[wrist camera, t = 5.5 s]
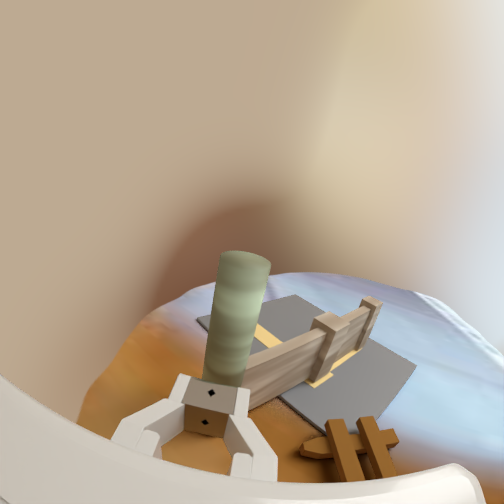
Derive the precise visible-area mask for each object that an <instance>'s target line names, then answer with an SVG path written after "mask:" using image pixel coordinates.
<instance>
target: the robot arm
mask: <svg viewBox="0 0 504 504" xmlns="http://www.w3.org/2000/svg"><path fill="white" fill-rule="evenodd" d="M249 398H250V389H245V388H240V387H234V386H229V385H224V384H220V383H214V382H210V381H206V380H203V379H199V378H195V377H191V376H188V375H184V374H181V373H180V374H179V375H178V377H177V380H176V382H175V384H174V386H173V389H172V391H171V393H170V395H169V398H168V399H166V398H164V399H162V400H160V401H158V402H156V403H154V404H152V405H150V406H148V407H146V408H144V409H142V410H140V411H138V412H136V413H134V414H132V415H130V416H128V417H126V418H124V419H122V420H121V422H120V424H119V426H118V428H117V429H116V431H115V433H114V435H113V437H112V438H111V440H108V439H106V438H104V437H102V436H100V435H97V434H95V433H93V432H91V431H89V430H87V429H85V428H83V427H81V426H79V425H77V424H75V423H74V422H72V421H70V420H68V419H66V418H65V417H63V416H61V415H59V414H57V413H56V412H54V411H53V410H51V409H49V408H48V407H46V406H45V405H43V404H41V403H40V402H38V401H37V400H35V399H34V398H32V397H31V396H29V395H28V394H26V393H25V392H24V391H22V390H21V389H19V388H18V387H17V386H15V385H14V384H13V383H11V382H10V381H9V380H7V379H6V378H5V377H4V376H3V375H1V374H0V504H486V502H485V499H484V496H483V492H482V489H481V486H480V484H479V482H478V480H477V478H476V477H475V476H474V475H473V474H472V473H471V472H469V471H468V470H466V469H465V468H463V467H462V466H460V465H458V464H456V463H452V464H448V465H444V466H441V467H437V468H433V469H429V470H425V471H421V472H416V473H412V474H407V475H401V476H396V477H390V478H383V479H375V480H367V481H356V482H342V483H289V482H277V464H278V457H277V456H276V454H275V453H274V452H273V450H272V449H271V447H270V446H269V445H268V443H267V442H266V440H265V439H264V437H263V436H262V435H261V433H260V432H259V430H258V429H257V427H256V426H255V424H254V423H253V421H252V420H251V418H247V415H248V406H249ZM183 429H184V430H188V431H193V432H197V433H202V434H206V435H210V436H214V437H218V438H222V439H223V440H224V443H225V445H226V447H227V449H228V451H229V453H230V455H231V457H232V461H231V464H230V467H229V470H228V472H227V475H222V474H216V473H212V472H207V471H202V470H198V469H194V468H190V467H186V466H182V465H178V464H175V463H171V462H168V461H165V460H162V452H161V446H163V445H164V444H165V443H167V442H168V441H170V440H171V439H172V438H174V437H175V436H176V435H178V434H179V433H180V432H182V431H183Z"/></svg>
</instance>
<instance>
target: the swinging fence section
mask: <svg viewBox="0 0 504 504" xmlns="http://www.w3.org/2000/svg"><path fill="white" fill-rule="evenodd" d="M270 267H271V263H270V262H269V261H268V260H267V259H265V258H263V257H261V256H259V255H256V254H252V253H248V252H243V251H226V252H223V253H222V254H221V255H220V260H219V267H218V273H217V279H216V285H215V291H214V298H213V304H212V311H211V317H210V324H209V331H208V338H207V345H206V352H205V359H204V367H203V374H202V379H203V380H206V381H210V382H214V383H220V384H224V385H229V386H234V387H240V388H245V389H250V398H249V406H248V411H249V410H251V409H253V408H255V407H257V406H259V405H261V404H263V403H265V402H267V401H269V400H271V399H272V398H274V397H276V396H278V395H280V394H282V393H283V392H285V391H287V390H289V389H291V388H292V387H294V386H296V385H297V384H299V383H301V382H303V381H304V380H306V379H308V378H309V379H310V380H311V381H313V382H314V383H315V382H316V381H318V380H319V379H321V378H322V377H324V376H325V375H327V374H328V373H329V372H330V370H331V368H332V366H333V363H334V361H335V359H336V357H337V355H338V352H339V350H340V348H341V345H342V343H343V341H344V338H345V336H346V334H347V331H348V329H349V326H350V323H349V322H347V321H345V320H343V319H342V318H340V317H338V316H337V315H335V314H333V313H331V312H330V311H329V312H327V313H324V314H322V315H319V316H317V317H314V319H313V322H312V325H311V328H310V331H309V332H307V333H304V334H302V335H300V336H297V337H295V338H293V339H290V340H288V341H286V342H283V343H281V344H278V345H276V346H273V347H271V348H268V349H266V350H263V351H261V352H258V353H255V354H253V355H250V356H249V354H250V350H251V346H252V342H253V338H254V334H255V330H256V326H257V322H258V318H259V313H260V309H261V305H262V301H263V297H264V293H265V289H266V284H267V280H268V276H269V271H270Z"/></svg>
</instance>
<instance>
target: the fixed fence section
mask: <svg viewBox="0 0 504 504" xmlns="http://www.w3.org/2000/svg"><path fill="white" fill-rule="evenodd" d="M382 304H383V302H381V301H379V300H377V299H375V298H373V297H371V296H367V297H365V298H363V299H362V301H361V303H360V306H359V308H358V309H356V310H354V311H352V312H350V313H348V314H346V315H344V316H342V317H340V318H342V319H343V320H345V321H347V322H349V323H350V326H349V329H348V331H347V334H346V336H345V338H344V341H343V343H342V345H341V348H340V350H339V352H338V355H337V357H336V359H335V361H334V363H335V362H336V361H338V360H339V359H341V358H342V357H344V356H345V355H347V354H348V353H350V352H351V351H352V350H356V351H358V350H360V349H361V348H363V347H364V346H365V344H366V342H367V339H368V337H369V335H370V333H371V330H372V328H373V326H374V323H375V321H376V319H377V316H378V314H379V312H380V309H381V307H382Z"/></svg>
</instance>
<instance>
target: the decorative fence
mask: <svg viewBox="0 0 504 504" xmlns="http://www.w3.org/2000/svg"><path fill="white" fill-rule="evenodd" d="M356 425H357V428H358V430H359V433H360V434H352V435H349V432H348V430H347V427H346V424H345V422H344V419H328V420H327V421H326V423H325V424H324V426H325V430H326V433H327V436H328V437H317V438H314V439H312V440H309V441H306V442H303V444H302V445H301V447H300V453H301V455H303V456H307V457H311V458H316V459H323V458H333V457H334V460H335V463H336V467H337V470H338V474H339V477H340V481H341V483H342V482H356V481H366V480H365V478H364V475H363V472H362V469H361V466H360V463H359V460H358V458H357V455H356V454H362V453H367V454H368V457H369V460H370V463H371V465H372V468H373V471H374V474H375V476H376V479H383V478H390V477H396V476H398V475H397V472H396V470H395V467H394V465H393V462H392V460H391V457H390V455H389V452H388V450H387V449H388V448H393V447H395V446H396V445H397V444H398V443H399V440H398V438H397V436H396V434H395V432H394V429H387V430H381V431H380V430H379V428H378V426H377V423H376V421H375V419H374V416H367V417H359V419H358V420H357V422H356Z"/></svg>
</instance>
